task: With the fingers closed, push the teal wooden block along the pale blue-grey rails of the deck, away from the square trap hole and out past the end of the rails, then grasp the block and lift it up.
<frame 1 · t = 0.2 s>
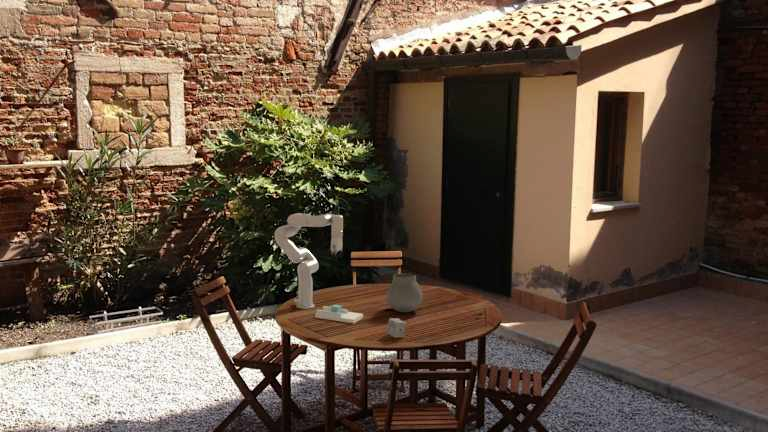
hand: (336, 259, 469), 36 cm above the table, tool pointing down, fingers open, 9 cm apart
deck: (339, 317, 461), on the table
block: (336, 313, 462), point 2 cm above the table, touching deck
ceramic pot: (403, 311, 480), on the table
incense holder: (396, 336, 426), on the table
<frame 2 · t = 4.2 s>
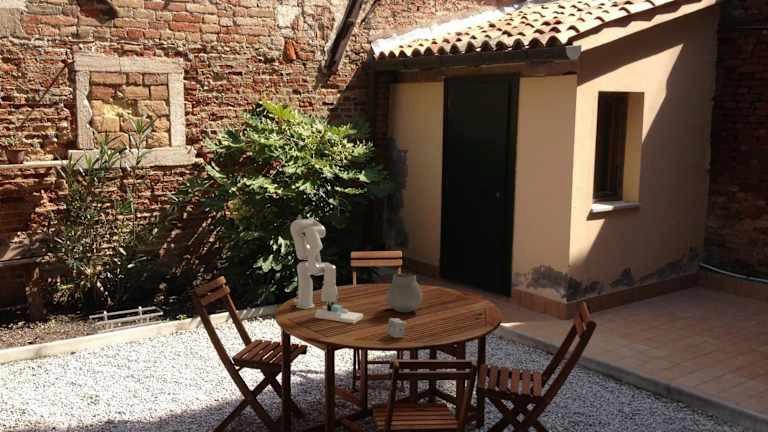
hand: (329, 311, 464), 3 cm above the table, tool pointing down, fingers closed
block: (336, 313, 462), point 3 cm above the table, touching gripper
everything else where it was.
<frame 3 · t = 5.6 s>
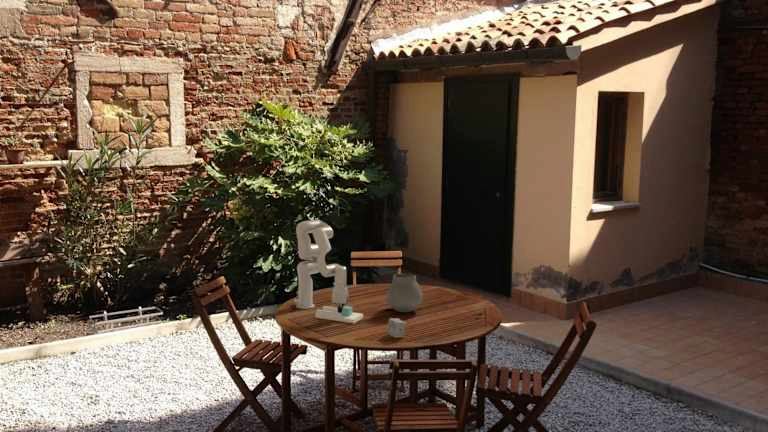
hand: (340, 312, 461), 3 cm above the table, tool pointing down, fingers closed
block: (347, 314, 459), point 2 cm above the table, touching deck, gripper
everything else where it was.
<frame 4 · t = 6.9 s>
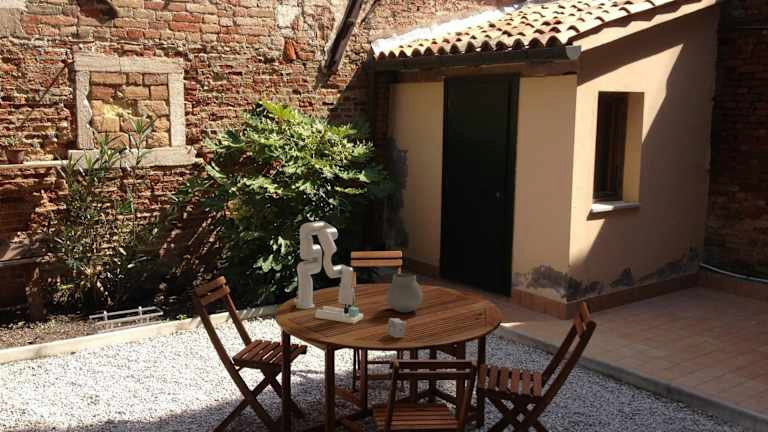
hand: (346, 313, 459), 3 cm above the table, tool pointing down, fingers closed
block: (353, 315, 457), point 2 cm above the table, touching deck, gripper
everything else where it was.
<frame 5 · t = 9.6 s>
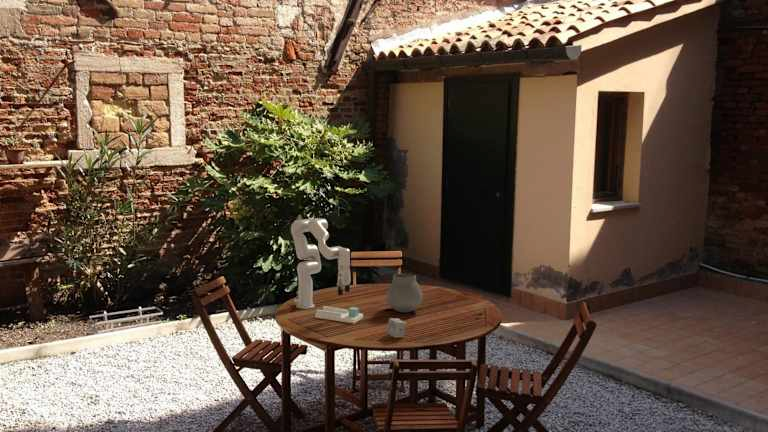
hand: (343, 293, 458), 17 cm above the table, tool pointing down, fingers open, 9 cm apart
block: (353, 315, 457), point 2 cm above the table, touching deck
everything else where it was.
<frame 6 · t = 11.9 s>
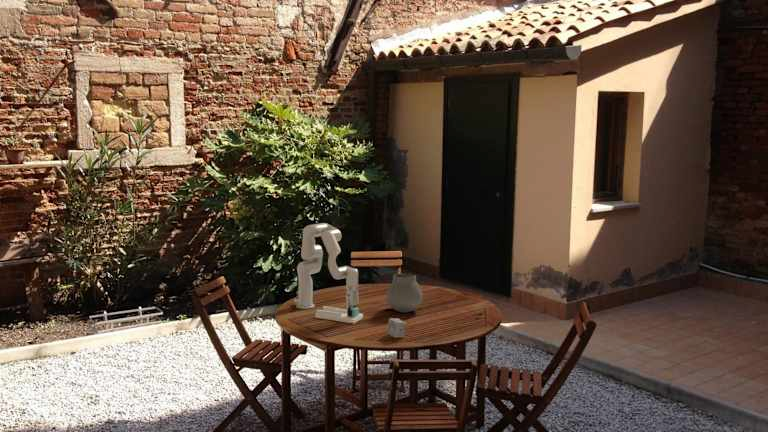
hand: (351, 314, 457), 3 cm above the table, tool pointing down, fingers closed on block, 5 cm apart
block: (353, 315, 457), point 3 cm above the table, touching deck, gripper
everything else where it was.
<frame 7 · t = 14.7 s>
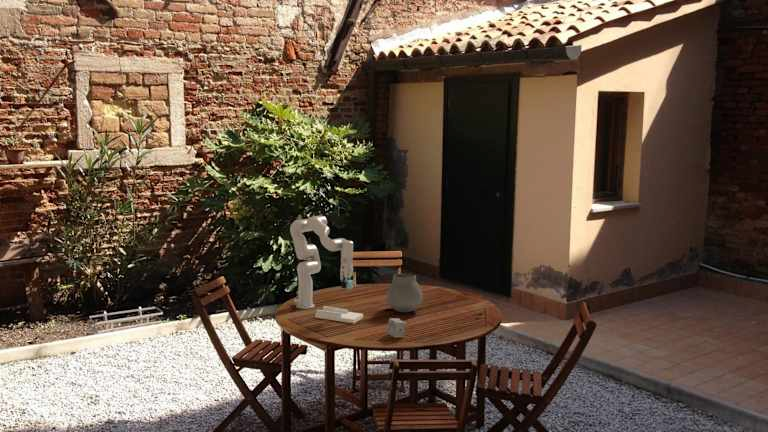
hand: (345, 286, 458), 21 cm above the table, tool pointing down, fingers closed on block, 5 cm apart
block: (347, 288, 458), point 20 cm above the table, touching gripper
everything else where it was.
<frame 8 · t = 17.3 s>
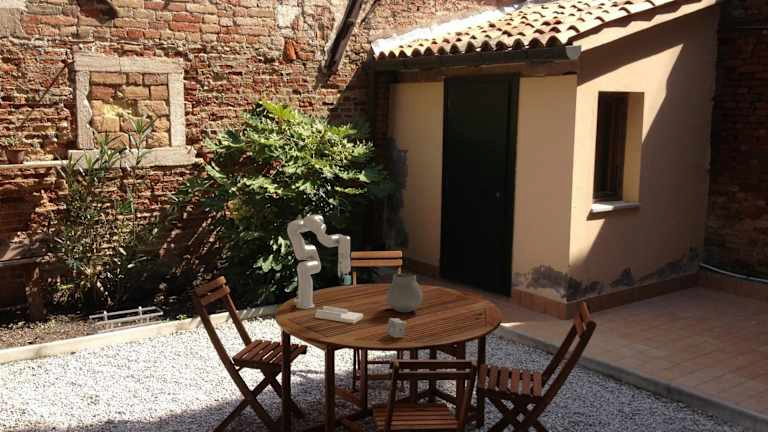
hand: (343, 282, 459), 23 cm above the table, tool pointing down, fingers closed on block, 5 cm apart
block: (345, 283, 458), point 23 cm above the table, touching gripper
everything else where it was.
at the end: the gripper is holding block; block inside the target area (3.3 cm from its centre), point 22.7 cm above the table; block moved 21.0 cm from its start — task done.
